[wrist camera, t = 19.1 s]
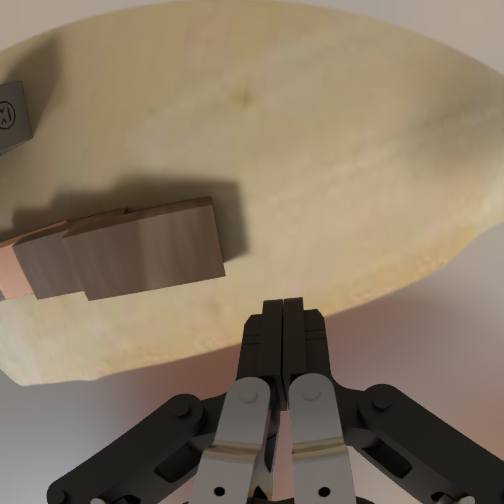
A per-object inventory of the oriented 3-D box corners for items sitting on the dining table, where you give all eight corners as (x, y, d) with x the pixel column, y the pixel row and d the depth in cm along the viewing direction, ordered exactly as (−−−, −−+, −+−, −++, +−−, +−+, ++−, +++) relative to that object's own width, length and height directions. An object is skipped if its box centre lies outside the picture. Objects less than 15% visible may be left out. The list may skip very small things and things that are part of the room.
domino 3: (223, 263, 21) (94, 287, 20) (210, 196, 18) (69, 228, 17) (225, 276, 20) (88, 301, 19) (212, 204, 17) (61, 238, 16)
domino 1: (89, 272, 23) (12, 289, 22) (67, 219, 20) (-10, 246, 19) (83, 282, 21) (6, 299, 21) (59, 228, 19) (-18, 254, 18)
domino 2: (145, 267, 22) (44, 288, 21) (126, 207, 19) (20, 237, 18) (143, 279, 20) (37, 299, 19) (121, 215, 18) (11, 246, 17)
